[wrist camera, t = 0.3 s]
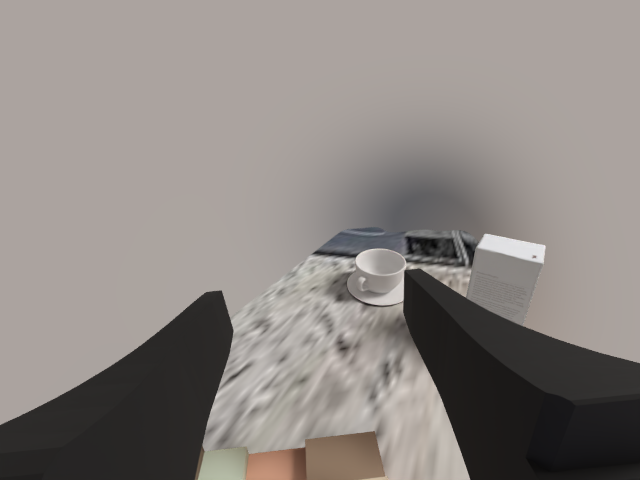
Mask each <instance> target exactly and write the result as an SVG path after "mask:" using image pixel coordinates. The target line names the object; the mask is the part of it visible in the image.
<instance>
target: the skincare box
mask: <svg viewBox="0 0 640 480" xmlns="http://www.w3.org/2000/svg"><path fill="white" fill-rule="evenodd" d="M545 248H546V246H544V245H540V244H535V243H529V242H524V241H519V240H515V239H510V238H505V237H500V236H494V235H490V234H484V236H483V237H482V239H481V240H480V242H479V244H478V245H477V247H476V250H475V255H474V260H473V266H472V271H471V276H470V281H469V286H468V291H467V295H466V298H467V299H469V300H471V301H472V302H474V303H476V304H478V305H480V306H481V307H483V308H485V309H487V310H489V311H491V312H493V313H495V314H497V315H499V316H501V317H503V318H506V319H508V320H510V321H512V322H514V323H517V324H519V325H521V326H523V323H524V321H525V318H526V315H527V312H528V308H529V306H530V303H531V299H532V296H533V293H534V291H535V288H536V285H537V281H538V277H539V275H540V272H541V270H542V267H543V264H544V256H545Z"/></svg>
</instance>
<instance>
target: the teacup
mask: <svg viewBox="0 0 640 480" xmlns="http://www.w3.org/2000/svg"><path fill="white" fill-rule="evenodd" d="M355 265H356V271H355V272H354V273H352V274H351V275H350V276H349V278H348V280H347V288H348V290H349V292H350V293H351V294H352V295H353V296H354V297H355V298H357V299H358V300H360V301H363V302H365V303H368V304H373V305H393V304H397V303H400V302H402V301H404V270H405V267H406V261H405V259H404V258H403V256H401V255H400V254H398V253H397V252H394V251H391V250H387V249H370V250H366V251H364V252H362V253H360V254H359V255H358V256H357V257H356V259H355Z"/></svg>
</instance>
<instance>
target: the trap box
mask: <svg viewBox="0 0 640 480" xmlns="http://www.w3.org/2000/svg"><path fill="white" fill-rule="evenodd" d="M305 445H306V447H305V448H297V449H289V450H280V451H272V452H264V453H255V454H249V453H248V450H247V447H239V448H231V449H222V450H214V451H206V452H205V451H204V449H203V447H202V448H201V452H200V457H199V462H198V467H197V472H196V477H195V480H362V479H370V478H378V477H385V473H384V469H383V465H382V461H381V456H380V452H379V448H378V444H377V439H376V435H375V431H373V432H365V433H356V434H348V435H340V436H331V437H323V438H315V439H306V440H305Z"/></svg>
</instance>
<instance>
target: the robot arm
mask: <svg viewBox="0 0 640 480" xmlns="http://www.w3.org/2000/svg"><path fill="white" fill-rule="evenodd" d="M403 313H404V316H405V319H406V322H407V325H408V328H409V331H410V334H411V336H412V338H413V340H414V342H415V344H416V347H417V349H418V351H419V353H420V355H421V357H422V359H423V361H424V363H425V365H426V367H427V369H428V371H429V373H430V375H431V377H432V379H433V381H434V383H435V385H436V387H437V390H438V392H439V394H440V396H441V399H442V401H443V404H444V407H445V409H446V412H447V415H448V417H449V420H450V423H451V425H452V428H453V431H454V434H455V436H456V439H457V442H458V445H459V448H460V450H461V453H462V456H463V459H464V462H465V465H466V468H467V471H468V474H469V477H470V480H640V363H637V362H633V361H629V360H625V359H621V358H617V357H613V356H610V355H606V354H602V353H598V352H595V351H592V350H588V349H586V348H582V347H579V346H576V345H573V344H570V343H567V342H564V341H560V340H558V339H555V338H552V337H549V336H547V335H544V334H542V333H539V332H536V331H534V330H531V329H528V328H526V327H523V326H521V325H519V324H517V323H514V322H512V321H510V320H508V319H506V318H503V317H501V316H499V315H497V314H495V313H493V312H491V311H489V310H487V309H485V308H483V307H481V306H480V305H478V304H476V303H474V302H472V301H471V300H469V299H467V298H465V297H464V296H462V295H460V294H459V293H457V292H455V291H454V290H452V289H451V288H449V287H448V286H446V285H444V284H443V283H441V282H440V281H438V280H437V279H435V278H434V277H432V276H431V275H429V274H428V273H426V272H424V271H423V270H421V269H412V270H404V306H403ZM232 337H233V327H232V324H231V320H230V317H229V314H228V310H227V307H226V304H225V300H224V297H223V294H222V291H212V292H206V293H204V294H203V295H202V296H201V297H199V298H198V299H197V300H196V301H194V302H193V303H192V304H191V305H190V306H189V307H187V308H186V309H185V310H184V311H183V312H182V313H180V314H179V315H178V316H177V317H176V318H175V319H173V320H172V321H171V322H170V323H169V324H168V325H166V326H165V327H164V328H162V329H161V330H160V331H159V332H157V333H156V334H155V335H154V336H152V337H151V338H150V339H149V340H147V341H146V342H145V343H143V344H142V345H141V346H139V347H138V348H137V349H135V350H134V351H133V352H131V353H130V354H128V355H127V356H125V357H124V358H122V359H121V360H119V361H118V362H116V363H115V364H114V365H112V366H110V367H109V368H107V369H105V370H104V371H102V372H100V373H99V374H97V375H95V376H94V377H92V378H90V379H89V380H87V381H86V382H84V383H82V384H80V385H79V386H77V387H75V388H73V389H72V390H70V391H68V392H66V393H64V394H62V395H60V396H59V397H57V398H55V399H53V400H51V401H49V402H47V403H45V404H43V405H41V406H39V407H37V408H35V409H34V410H31V411H29V412H28V413H25V414H23V415H21V416H19V417H17V418H15V419H12V420H10V421H8V422H6V423H4V424H2V425H0V480H195V477H196V472H197V467H198V462H199V457H200V452H201V448H202V443H203V439H204V435H205V430H206V426H207V422H208V418H209V415H210V411H211V408H212V405H213V402H214V399H215V396H216V393H217V390H218V387H219V384H220V381H221V378H222V375H223V372H224V369H225V366H226V363H227V360H228V357H229V353H230V348H231V343H232Z"/></svg>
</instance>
